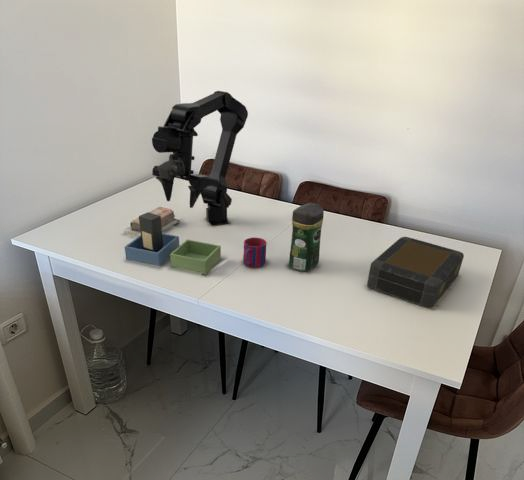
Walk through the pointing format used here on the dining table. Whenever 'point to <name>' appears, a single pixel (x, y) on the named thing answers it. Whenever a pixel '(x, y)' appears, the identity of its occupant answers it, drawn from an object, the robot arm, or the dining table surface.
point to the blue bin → (149, 257)
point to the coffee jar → (306, 236)
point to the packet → (151, 232)
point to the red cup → (254, 252)
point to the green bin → (195, 256)
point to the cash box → (415, 271)
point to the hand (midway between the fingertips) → (179, 204)
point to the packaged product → (166, 221)
